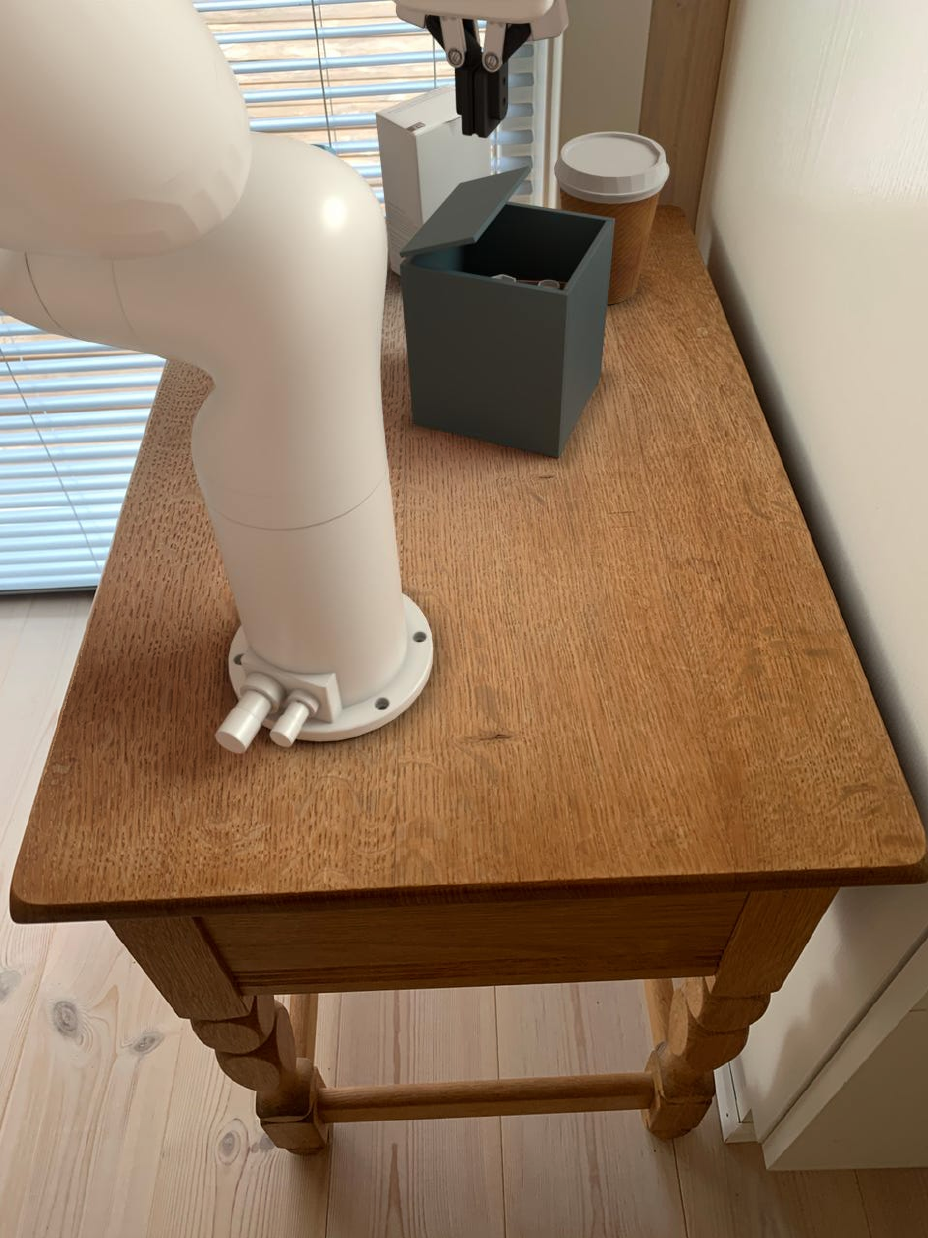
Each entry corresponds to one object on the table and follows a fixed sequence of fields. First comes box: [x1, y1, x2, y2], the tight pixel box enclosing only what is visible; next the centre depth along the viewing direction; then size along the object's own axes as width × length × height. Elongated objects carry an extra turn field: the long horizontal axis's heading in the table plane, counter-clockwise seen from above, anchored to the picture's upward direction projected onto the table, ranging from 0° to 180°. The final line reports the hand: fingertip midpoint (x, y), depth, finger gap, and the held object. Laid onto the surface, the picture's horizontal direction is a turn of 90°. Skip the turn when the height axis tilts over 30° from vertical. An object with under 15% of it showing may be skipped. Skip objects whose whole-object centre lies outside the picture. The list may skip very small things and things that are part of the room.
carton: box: [400, 200, 615, 459], centre depth 74 cm, size 12×11×14 cm
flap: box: [399, 165, 532, 258], centre depth 68 cm, size 6×11×1 cm, turn 158°
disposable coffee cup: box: [553, 131, 670, 305], centre depth 85 cm, size 10×10×12 cm
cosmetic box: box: [375, 83, 492, 277], centre depth 87 cm, size 8×6×15 cm
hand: (482, 127), depth 64 cm, fingers closed
